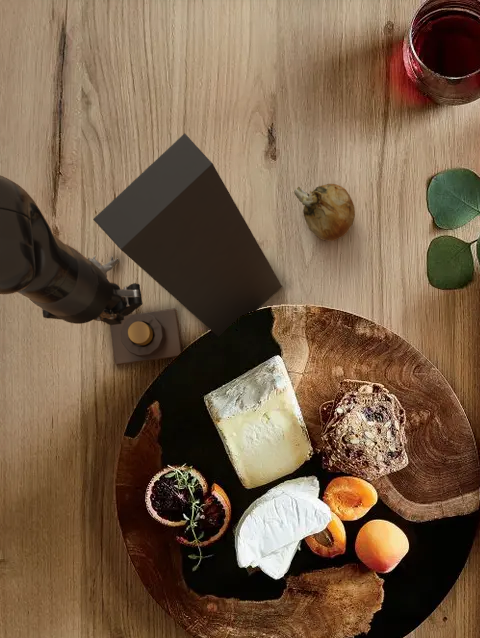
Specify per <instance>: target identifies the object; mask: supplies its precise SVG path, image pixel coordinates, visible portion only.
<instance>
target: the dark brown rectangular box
mask: <svg viewBox="0 0 480 638" xmlns="http://www.w3.org/2000/svg"><path fill="white" fill-rule="evenodd" d="M92 220H93V221H94V223H96V225H97V226H98V227H99V228H100V229H101V230H102V231H103V232H104V233H105V234H106V235H107V237H109V239H110V240H111V241H112V242H113V243H114V244H115V245H116V246H117V247H118V249H119V250H120V251H122V252H123V253H124V254H125V255H126V256H127V257H128V258H129V259H131V261H133V262H134V263H135V264H136V265H137V266H138V267H140V268H141V269H142V270H143V271H144V272H145V273H146V274H147V275H148V276H149V277H151V278H152V280H154V281H155V282H156V283H157V284H159V286H161V288H163V289H164V290H165V291H166V292H168V293H169V295H171V296H172V297H173V298H174V299H175V300H177V302H179V303H180V304H181V305H182V306H183V307H184V308H185V309H186V310H187V311H188V312H190V313H191V314H192V315H193V316H194V317H195V318H196V319H198V320H199V321H200V323H202V324H203V325H204V326H205V327H206V328H207V329H209V330H210V331H211V332H212V333H213V334H215V336H217V337H218V338H219V336H220V335H221V334H222V333H223V332H224V331H225V330H226V329H227V328H228V327H229V326H231V325H232V323H233V322H235V321H236V320H237V318H239V317H240V316H242V315H245V314H247V313H249V312H252V311H256V310H257V311H258V310H260V308H261V307H263V306H264V304H265V303H266V302H268V301H269V300H270V299H271V298H272V297H273V296H274V295H275V294H276V293H277V292H278V291H280V290H281V289H282V288H283V285H282V283H281V281H280V279H279V278H278V276H277V275H276V273H275V271H274V269H273V268H272V265H271V263H270V262H269V260H268V258H267V257H266V255H265V253H264V252H263V249H262V248H261V246H260V245H259V242H258V241H257V239H256V238H255V236H254V234H253V232H252V230H251V228H250V226H249V225H248V223H247V222H246V220H245V218H244V216H243V215H242V213H241V211H240V209H239V207H238V205H237V204H236V202H235V200H234V198H233V197H232V195H231V193H230V191H229V189H228V188H227V186H226V184H225V182H224V181H223V179H222V178H221V175H220V173H218V170H217V169H216V167H215V165H214V164H213V162H212V161H211V160H210V159H209V157H207V156H206V155H205V154H204V152H203V151H202V150H201V149H200V148H199V147H198V146H197V145H196V143H194V141H193V140H192V139H191V138H190V137H189V136H188V135H187V134H186V133H183V134H181V136H180V137H179V138H178V139H177V140H175V141H174V143H173V144H171V145H170V146H169V147H168V148H167V149H166V150H165V151H164V152H163V153H162V154H160V156H159V157H157V158H156V159H155V160H154V161H153V162H152V163H151V164H150V165H149V166H148V167H147V168H145V170H144V171H143V172H141V174H139V175H138V176H137V177H136V178H135V179H133V181H132V182H131V183H130V184H129V185H127V187H126V188H125V189H124V190H122V192H120V193H119V194H118V195H117V196H116V197H115V198H114V199H113V200H112V201H111V202H109V204H108V205H106V206H105V207H104V208H103V209H102V210H101V211H100V212H98V214H97V215H96V216H95V217H94V218H93V219H92ZM257 311H256V312H257Z"/></svg>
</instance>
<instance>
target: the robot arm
mask: <svg viewBox="0 0 480 638" xmlns="http://www.w3.org/2000/svg"><path fill="white" fill-rule="evenodd" d="M16 293H19V294H20V295H21V296H24V297H25V298H27V299H28V300H30V302H32V304H34V305H36V306H37V307H39V308H41V311H42V317H43V319H47V320H49V319H52V320H61V321H64V322H66V323H70V324H75V325H76V324H77V325H78V324H79V325H80V324H87V323H89V322H92V321H96V322H102V323H106V324H107V325H109V326H110V325H116V324H121V323H122V321H121V320H124V316H127V315H131V314H133V312H134V311H136V310H137V309H138V308H140V307H141V306H142V305H143V298H142V291H141V285H140V284H139V283H137V282H136V283H135V282H134V283H130V284H129V285H128V286H123V288H121V286H119V284H117V283H115V282H111V281H109V279H108V277H107V278H106V276H105V274H104V273H103V272H102V271H101V270H100V269H99V268H98V267H97V266H96V265H95V264H93V263H92V262H91V261H90V260H88V258H87V257H86V256H85V255H83V254H82V253H81V252H80V251H78V249H75V248H74V247H72V246H71V245H68V244H67V243H65V242H63V241H62V240H60V239H59V238H58V237H57V236H56V235H54V233H53V231H52V229H51V226H50V225H49V222H48V221H47V219H46V218H45V215H44V214H43V213H42V211H41V209H40V208H39V206H38V204H37V203H36V202H35V200H34V199H33V197H32V196H31V195H30V194H29V193H28V192H27V191H26V190H25V188H24V187H22V186H20V185H19V184H18V183H16V182H15V181H13V180H12V179H10V178H7V177H5V176H4V175H0V295H12V294H16Z"/></svg>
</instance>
